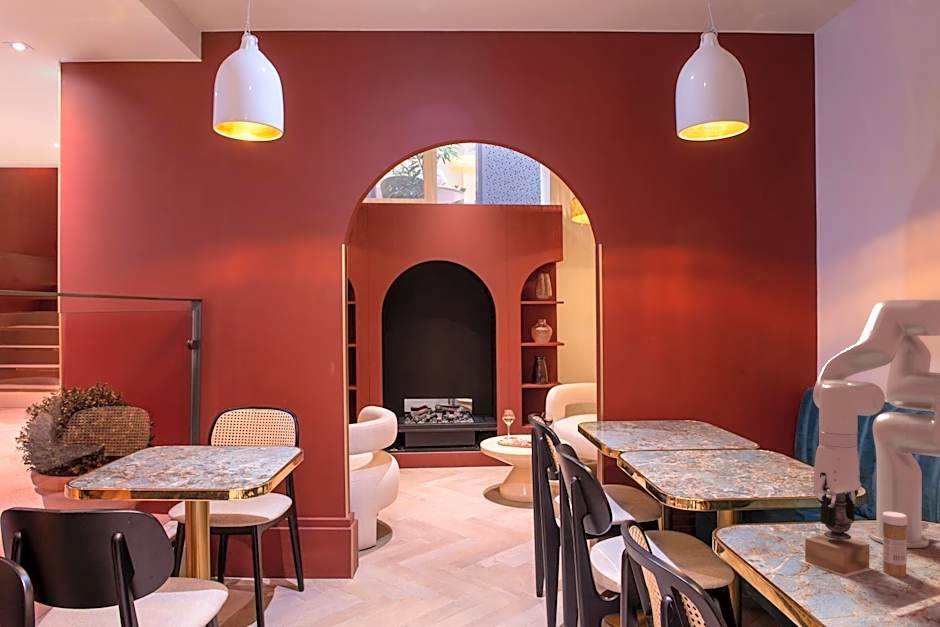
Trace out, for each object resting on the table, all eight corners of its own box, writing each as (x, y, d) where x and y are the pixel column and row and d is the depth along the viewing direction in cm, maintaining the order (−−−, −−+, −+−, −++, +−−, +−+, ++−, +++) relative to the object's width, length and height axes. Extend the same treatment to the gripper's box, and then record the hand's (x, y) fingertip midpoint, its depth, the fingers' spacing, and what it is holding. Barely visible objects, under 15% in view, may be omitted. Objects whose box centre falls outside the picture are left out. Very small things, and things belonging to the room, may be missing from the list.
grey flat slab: (831, 555, 164) (831, 551, 164) (882, 571, 153) (882, 567, 153) (785, 566, 156) (785, 562, 156) (836, 584, 146) (837, 580, 146)
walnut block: (830, 554, 161) (830, 532, 161) (869, 567, 153) (869, 544, 153) (805, 561, 157) (805, 538, 157) (843, 574, 149) (843, 550, 149)
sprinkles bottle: (905, 575, 151) (905, 512, 151) (908, 582, 147) (908, 517, 147) (880, 571, 153) (881, 509, 153) (883, 579, 149) (883, 515, 149)
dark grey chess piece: (856, 541, 152) (857, 485, 152) (827, 539, 153) (827, 483, 153) (847, 532, 158) (848, 478, 158) (819, 530, 159) (819, 477, 159)
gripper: (846, 434, 163) (845, 513, 163) (797, 440, 154) (796, 523, 154) (878, 439, 156) (877, 521, 156) (829, 446, 148) (828, 533, 148)
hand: (837, 521), depth 155 cm, fingers closed on dark grey chess piece, 5 cm apart
